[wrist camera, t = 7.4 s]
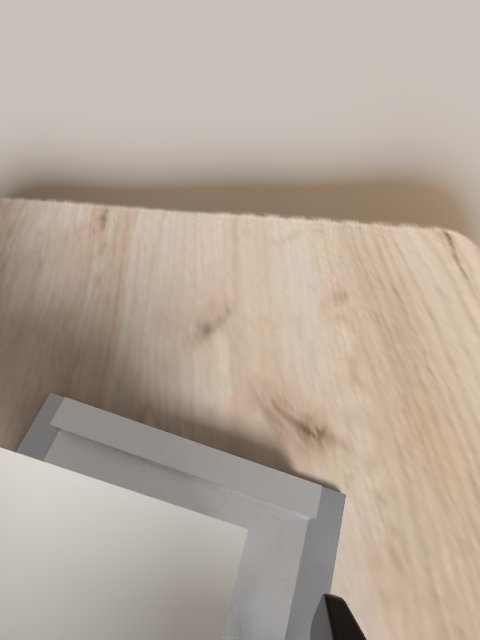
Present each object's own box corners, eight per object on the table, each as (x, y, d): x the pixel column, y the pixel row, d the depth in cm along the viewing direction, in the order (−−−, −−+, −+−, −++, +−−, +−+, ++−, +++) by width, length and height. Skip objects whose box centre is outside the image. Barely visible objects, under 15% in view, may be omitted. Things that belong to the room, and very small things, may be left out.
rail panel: (263, 972, 11) (276, 1064, 9) (-170, 781, 12) (-240, 828, 10) (343, 495, 17) (360, 490, 15) (53, 395, 18) (35, 378, 16)
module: (175, 696, 13) (123, 1036, 4) (47, 649, 13) (-254, 876, 4) (221, 531, 15) (248, 529, 7) (111, 495, 16) (-3, 446, 7)
